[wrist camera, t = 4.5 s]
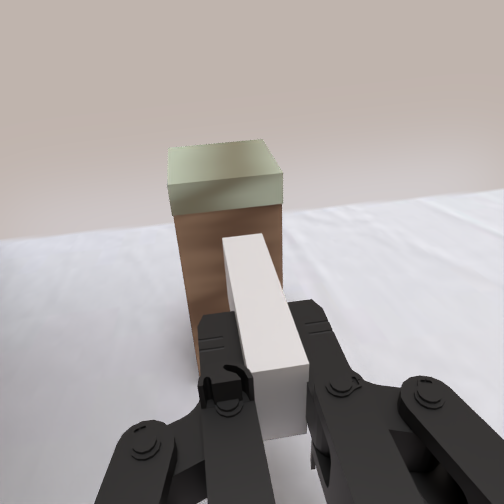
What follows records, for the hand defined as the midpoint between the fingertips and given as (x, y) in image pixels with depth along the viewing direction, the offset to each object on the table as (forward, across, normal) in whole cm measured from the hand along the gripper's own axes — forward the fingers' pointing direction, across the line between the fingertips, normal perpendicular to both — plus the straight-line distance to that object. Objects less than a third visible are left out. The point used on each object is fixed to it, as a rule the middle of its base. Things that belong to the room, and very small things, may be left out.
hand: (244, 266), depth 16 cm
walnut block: (+7, 0, -11) cm, 13 cm away
